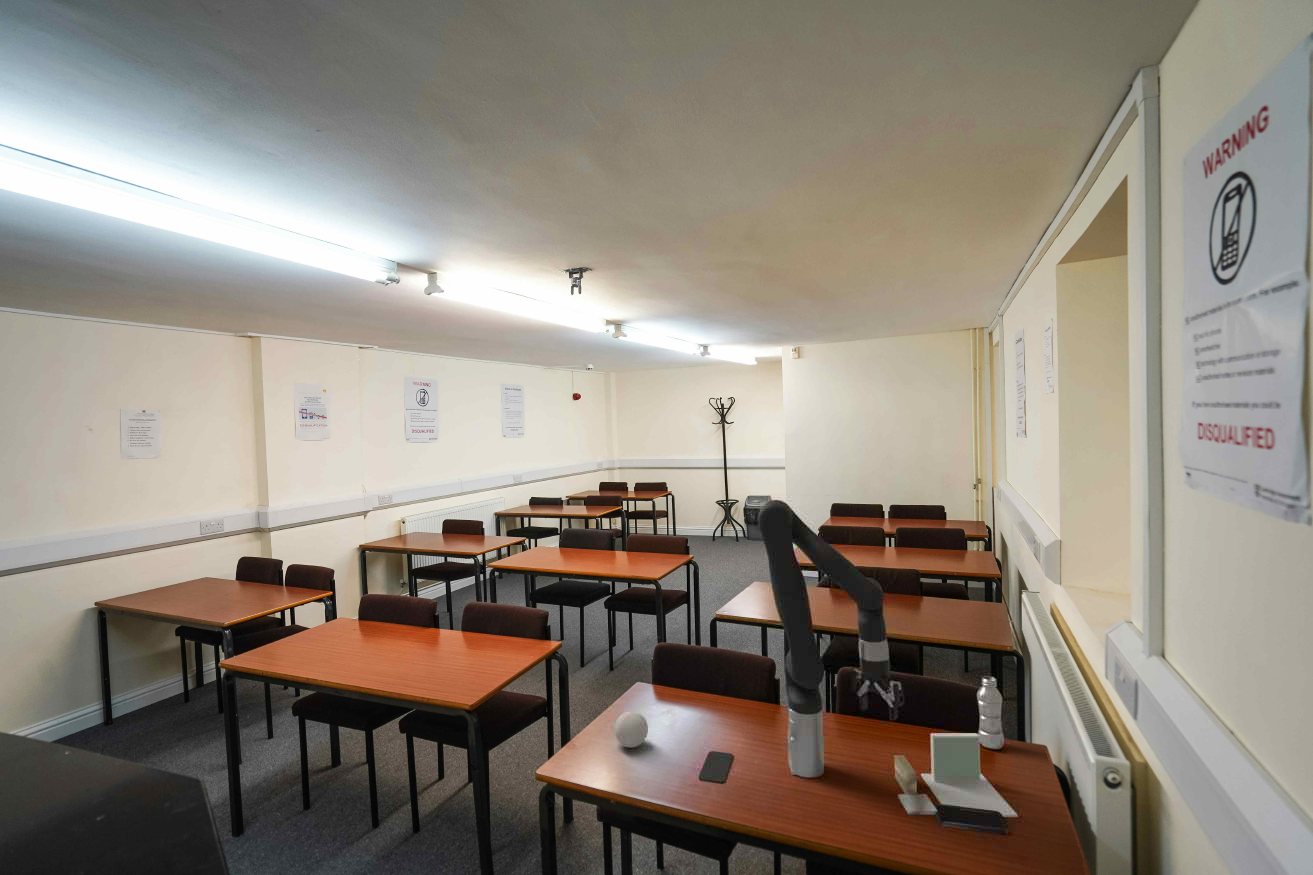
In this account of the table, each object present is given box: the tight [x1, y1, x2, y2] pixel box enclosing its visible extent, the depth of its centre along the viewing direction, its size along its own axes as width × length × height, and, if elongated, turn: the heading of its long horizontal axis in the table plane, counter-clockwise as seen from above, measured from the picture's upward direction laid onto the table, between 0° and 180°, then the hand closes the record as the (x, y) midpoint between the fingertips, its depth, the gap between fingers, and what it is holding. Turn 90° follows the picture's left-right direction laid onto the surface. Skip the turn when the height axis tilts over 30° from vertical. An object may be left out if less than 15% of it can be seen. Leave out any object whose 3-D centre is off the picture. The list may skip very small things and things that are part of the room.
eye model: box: [614, 710, 649, 749], centre depth 183 cm, size 10×10×10 cm
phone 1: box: [698, 750, 734, 784], centre depth 170 cm, size 7×1×15 cm
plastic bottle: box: [976, 675, 1005, 750], centre depth 177 cm, size 6×7×20 cm
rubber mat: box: [920, 773, 1019, 818], centre depth 154 cm, size 16×18×1 cm
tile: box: [930, 732, 981, 782], centre depth 160 cm, size 12×2×12 cm, turn 87°
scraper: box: [894, 754, 938, 816], centre depth 155 cm, size 7×16×6 cm, turn 177°
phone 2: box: [933, 803, 1010, 836], centre depth 144 cm, size 8×1×15 cm
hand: (878, 714), depth 162 cm, fingers open, 8 cm apart
